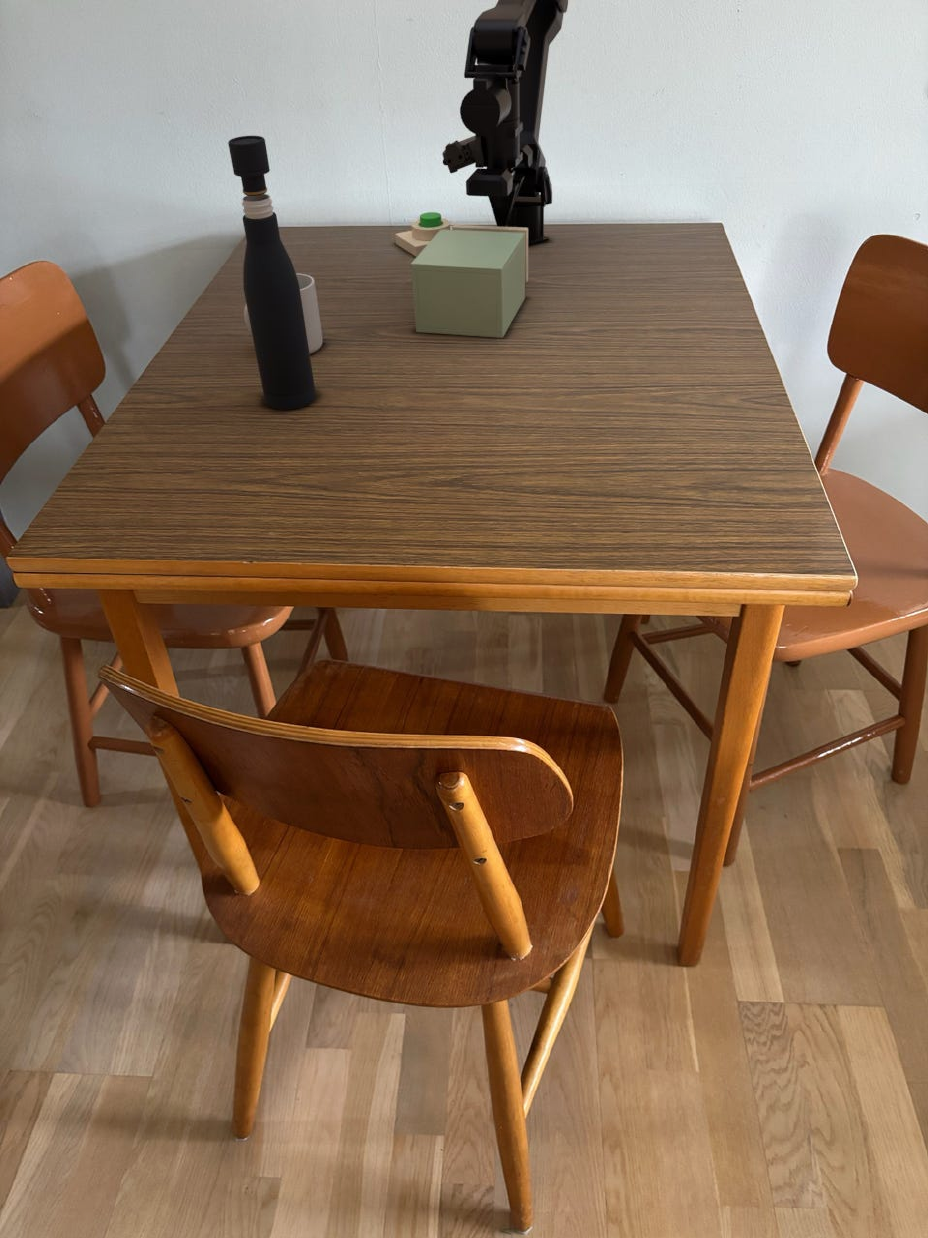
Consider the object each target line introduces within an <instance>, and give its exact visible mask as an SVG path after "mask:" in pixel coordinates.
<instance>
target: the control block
mask: <svg viewBox="0 0 928 1238" xmlns="http://www.w3.org/2000/svg"><path fill="white" fill-rule="evenodd" d="M441 223H442V225H441V226H438V227H433V228H425V227H421V226H420V218H419V219H417V220H414V221H413V222H411V226H410V227H411V230H408V231H403V232H398V233H395V234H394V237H395V244H396V246H399V247H400V248H402V249H403V250H405V251H406V252H408V253H409V254H410V255H412V256H414V257H415V258H416V257H417V256H418V255H419V254H420V253H421V252H422V251H423V249H424V248H425V247H426V246H427V245H428V244H429V242H430V241H431V240H432V239H433V238H434V237H435V235H436V234H437V233H438V232H439V231H440V230H441V229H443V230H452V227H453V226H454V225H451V221H450V220H448V219H447V218H443V217H441Z"/></svg>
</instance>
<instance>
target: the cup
mask: <svg viewBox="0 0 928 1238" xmlns="http://www.w3.org/2000/svg"><path fill="white" fill-rule="evenodd" d="M296 276H297V279H298V282H299V287H300V294H301V300H302V307H303V314H304V320H305V327H306V333H307V340H308V346H309V353H310V355H311V354H314V353H316V352H317V351H319V350H320V349H321V347H322V346H323V343H324V342H323V332H322V325H321V318H320V317H321V316H320V311H319V304H318V303H319V302H318V297H317V290H316V282H315V278H314V277H313V276H311V275H309V274H306V273H305V274H304V273H298V272H297V273H296ZM243 311H244V312H243V318H244V323H245V326H246V329H247V331H248V332H249V334H250V335H251V336H252V330H251V325H250V320H249V315H248V309H247V304H246V303H245V306H244V309H243Z"/></svg>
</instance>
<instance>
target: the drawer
mask: <svg viewBox="0 0 928 1238" xmlns="http://www.w3.org/2000/svg"><path fill="white" fill-rule="evenodd" d="M452 226H453V227H452V230H467V231H490V232H513V233H525V284H526V283H528V281H529V245H528V228H523V227H499V226H497V225H495V226H494V225H474V224H473V225H471V224H470V225H469V224H453V225H452Z"/></svg>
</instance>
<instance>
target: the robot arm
mask: <svg viewBox="0 0 928 1238" xmlns="http://www.w3.org/2000/svg"><path fill="white" fill-rule="evenodd" d="M568 6H569V0H497V2H496V3H495V6H494V7H491V8H489V9H486V10H483V11H482V12H481V13H480V14H479V16H478V17H477V18H476V20H474V24H473V26H472V27H471V28H470V30H469V35H468V42H467V50H466V57H465V66H464V73H463V77H464V79H472V89H470V90H469V91H468V92H466V94H465V95H464V97H463V98H462V101H461V103H460V107H459V114H460V119H461V122H462V124H463V125H464V127H465V128H466V129H467V130H468V132H470V133H472V134H474V135H473V136H470V137H467V138H465V139H463V140H460V141H458V140H455V141H453V142H448V143H447V144H446V145H445V147H444V150H443V151H442V158H443V160H442V165H443V166H447V168H448V172H449V173H450V174H454V173H457V172H458V171H459V170H461V169H463V168H466V167H468V166H471V165H474V166H475V168H476V169H475V170H474V172H473V173H472V174H471V175H470V176H469V177H468V178H467V179H466V180H465V195H466V196H469V197H488V200H489V203H490V206H491V210H492V213H493V216H494V220H495V224H496V226H499V227H523V228H528V246H531V245H535V244H539V243H544V242H549V240H550V239H549V238H550V237H549V236H547V235H545V227H544V226H545V207H546V206H547V205H552V203H553V188H552V187H553V186H552V185H553V184H552V182H551V176H550V174H549V170H548V167H547V165H546V164H547V160H546V157H545V155H544V152H543V150H542V147H541V145H540V143H539V141H540V140H539V139H540V132H541V131H540V130H541V121H542V114H543V104H544V97H545V88H546V87H545V86H546V79H547V69H548V61H549V60H548V59H549V51H550V45H551V44H552V43H553V41H554V39H556V37H557V35H559V32H561V30H562V27H563V21H564V19H563V18H564V14H565V13H567V11H568Z"/></svg>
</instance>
